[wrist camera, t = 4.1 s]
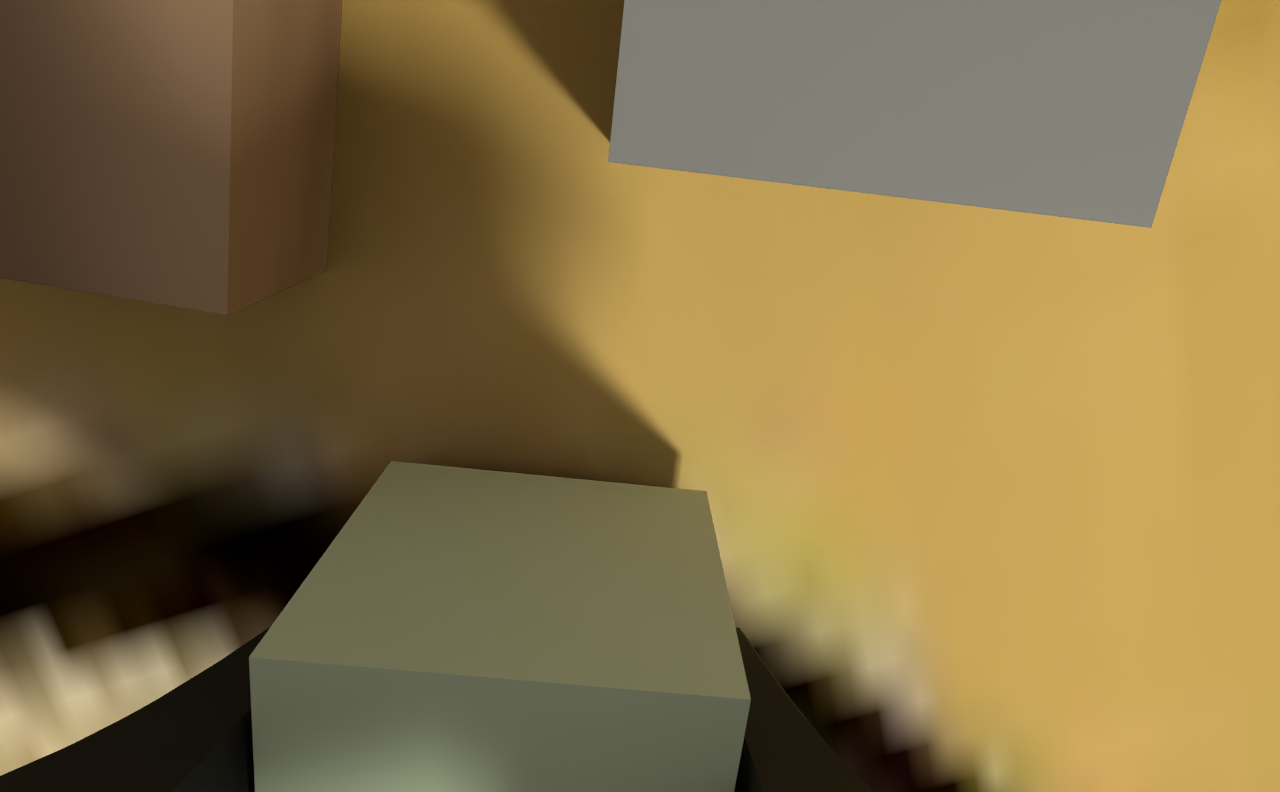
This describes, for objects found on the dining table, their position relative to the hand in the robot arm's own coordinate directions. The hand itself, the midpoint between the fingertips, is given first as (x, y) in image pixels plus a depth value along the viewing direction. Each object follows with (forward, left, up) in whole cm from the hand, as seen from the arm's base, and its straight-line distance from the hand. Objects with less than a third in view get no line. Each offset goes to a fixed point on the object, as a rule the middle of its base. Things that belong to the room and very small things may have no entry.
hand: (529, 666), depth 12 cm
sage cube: (0, 0, -1) cm, 1 cm away
